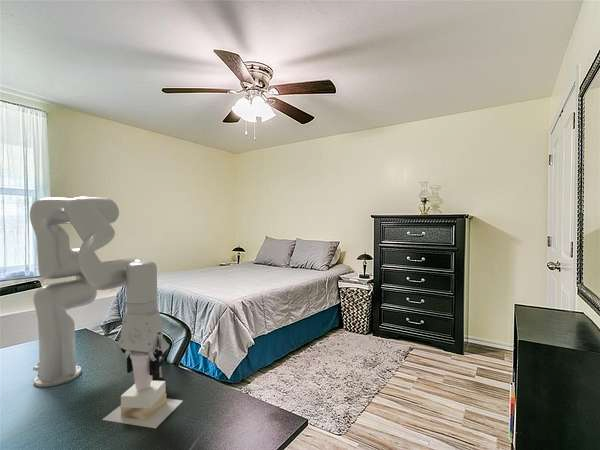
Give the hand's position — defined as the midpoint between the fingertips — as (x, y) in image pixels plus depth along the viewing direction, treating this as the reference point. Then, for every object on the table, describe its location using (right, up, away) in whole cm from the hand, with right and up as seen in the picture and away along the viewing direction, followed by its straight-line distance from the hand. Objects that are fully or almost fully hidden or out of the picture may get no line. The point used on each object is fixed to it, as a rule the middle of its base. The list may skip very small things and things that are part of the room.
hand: (143, 371), depth 86 cm
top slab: (0, -8, 0) cm, 8 cm away
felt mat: (0, -11, 0) cm, 11 cm away
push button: (-2, -11, +11) cm, 16 cm away
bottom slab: (0, -11, 0) cm, 11 cm away
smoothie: (0, -4, 0) cm, 4 cm away
